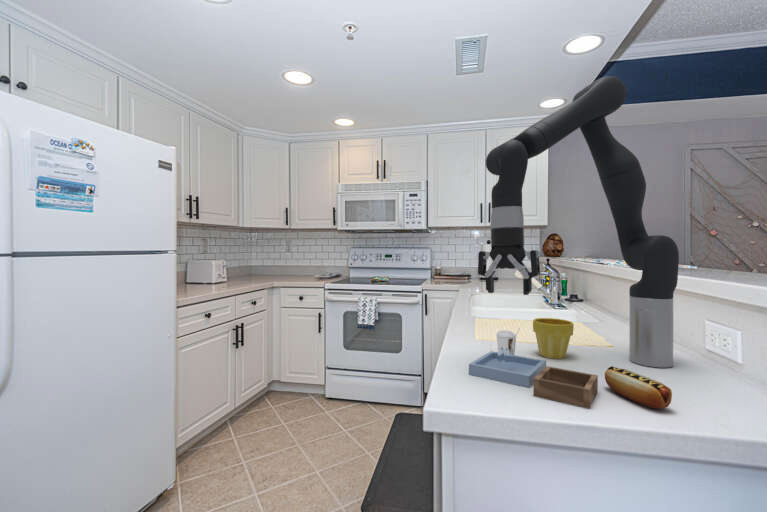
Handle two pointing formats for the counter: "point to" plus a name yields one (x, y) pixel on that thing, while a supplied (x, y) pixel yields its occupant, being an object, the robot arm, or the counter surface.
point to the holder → (566, 386)
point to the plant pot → (552, 336)
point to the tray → (519, 375)
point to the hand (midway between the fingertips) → (508, 293)
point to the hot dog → (638, 388)
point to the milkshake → (506, 349)
